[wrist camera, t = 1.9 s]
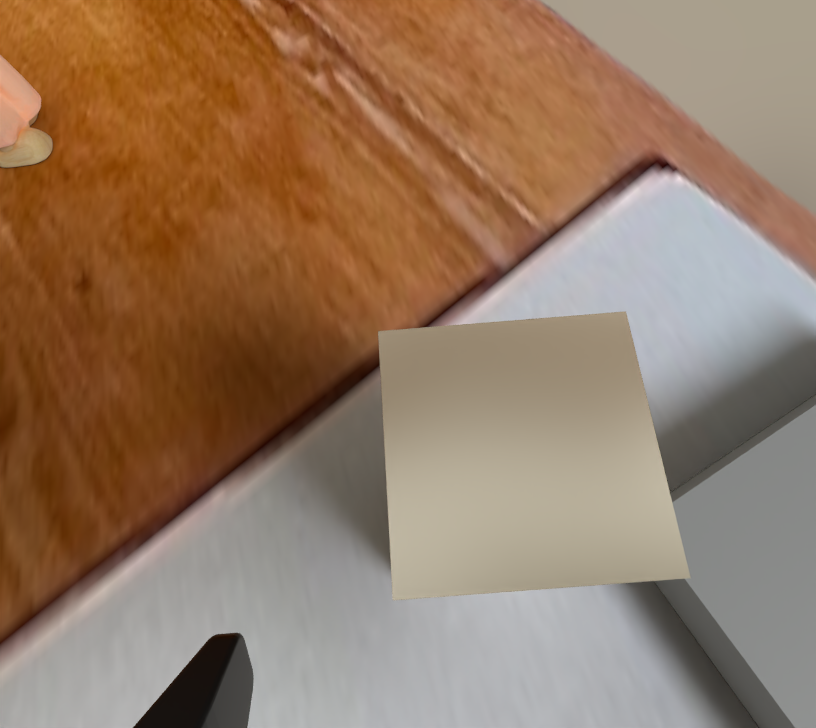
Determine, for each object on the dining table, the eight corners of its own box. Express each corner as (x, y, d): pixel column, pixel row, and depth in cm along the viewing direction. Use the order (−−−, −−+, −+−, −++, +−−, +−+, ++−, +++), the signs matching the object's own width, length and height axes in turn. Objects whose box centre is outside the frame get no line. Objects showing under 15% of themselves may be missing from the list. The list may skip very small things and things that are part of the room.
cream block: (545, 578, 18) (691, 577, 8) (413, 588, 18) (393, 600, 8) (526, 447, 20) (625, 311, 10) (404, 456, 20) (377, 330, 10)
